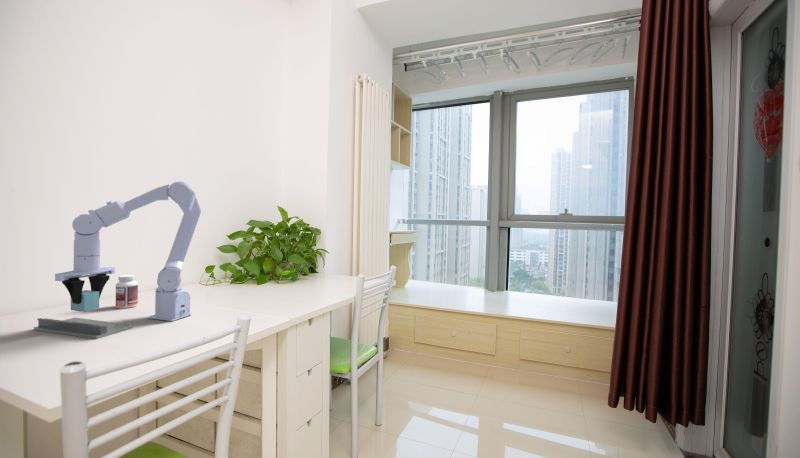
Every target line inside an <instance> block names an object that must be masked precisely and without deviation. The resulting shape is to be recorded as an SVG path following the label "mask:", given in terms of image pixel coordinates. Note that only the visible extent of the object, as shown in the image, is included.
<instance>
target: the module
mask: <svg viewBox="0 0 800 458" xmlns="http://www.w3.org/2000/svg"><path fill="white" fill-rule="evenodd" d="M99 309H100V299H99V291H91V289H90V290H89V289H88V290H87V289H85V290H82V299H81V304H73V302H72V299H71V298H70V311H75V312H83V313H84V312H89V311H93V310H99Z"/></svg>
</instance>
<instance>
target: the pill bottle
mask: <svg viewBox="0 0 800 458" xmlns="http://www.w3.org/2000/svg"><path fill="white" fill-rule="evenodd" d="M117 278H118V282H117V283H116V284H115V307H116V308H117V309H129V308H135V307H137V306H138V305H139V304H138V302H139V301H138V300H139V299H138V297H139V296H138V293H139V290H138V288H139V284H138V281H136V275H135V274H123V275H119V276H118V277H117Z"/></svg>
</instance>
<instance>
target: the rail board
mask: <svg viewBox="0 0 800 458" xmlns="http://www.w3.org/2000/svg"><path fill="white" fill-rule="evenodd" d="M36 319H37V321H38V323H37V324H38V326H34V327H33V331H37V332H45V333H50V334H60V335H66V336H72V337H80V338H85V339H87V338H88V339H94V340H98V339H101V338H103V337H107V336H111V335H114V334H117V333H120V332H123V331H127V330H130V329H133V328H134V325H133V324H128V323H123V322H122V323H120V322H112V321H104V320H98V319H97V320H96V319H91V318H90V319H88V318H80V317H72V318H68V319H63V320H62V319H53V318H41V317H40V318H36Z"/></svg>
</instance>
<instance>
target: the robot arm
mask: <svg viewBox="0 0 800 458" xmlns="http://www.w3.org/2000/svg"><path fill="white" fill-rule="evenodd" d="M169 198H170V199H171V200H172V201H173V202H175V204H177V205H178V207H179V208H180V209H181V211H182V212H183V215H182V218H181V220H180V223H179V226H178V229H177V232H176V235H175V237H174V241H173V243H172V246H171V249H170V252H169V254H168V258H167V259H166V262H165V265H164V267H163V268H162V269H161V270H160V271H159V272H158V275H157V280H156V284H157V287H156V288H155V300H154V301H155V302H154V303H155V305H154V306H155V307H154V315H153V314H152V315H149V316H147V318H148V319H152V320H159V321H160V320H161V321H169V322H174V321H178V320H179V319H180V320H181V319H183V318H186V317H189V316H192V315H193V314H192V313H191V295H190V293H189V292H187V291H186V290H184V289H183V286H182V285H181V283H182V277H181V272H182V268H183V265H184V262H185V258H186V256H187V253H188V249H189V247H190V244H191V242H192V238H193V236H194V233H195V231H196V228H197V224H198V221H199V218H200V215H201V213H202V210H201V208H200V204H199V202H198V198H197V196H196V192H195V191H194V190H193V189H192V187H191V186H190V185H189V184H188V183H186V182H184V181H175V182H172V183H171V184H165V185H162V186H158V187H156V188H152V189H151V190H149V191H147V192H145V193H142V194H140V195H137V196H136V197H134V198H132V199H130V200H127V201H126V202H123V201H117V200H114V201H112V200H110V201H107V202H105V203H106V205H103V206H101V207H98V208H96V209H90V210H88V211H87V212H88V213H83V214H82V213H81V214H79V216H77V217H75V218H74V219H73V221H72V223H71V226H72V228H73V229H72V230H74V240H73V267H72V268H73V270H69V271H63V272H59V273H58V272H57V273H54V281H55V282H62V285H64V287H65V288H66V289H67V291H68V295H69V296H70V300H71V299H72V302H73V304H81V299H82V291H83V288H84V285H85V282H86V281H85V280H83V278H88V280H89V281H88V282H89V284H90V291H99V300H100V299H101V295H102V292H103V290H104V288H105V286H106V284H107V282H108V281H109V280H110V275H112V274H113V275H114V274H115V270H116V269H115V268H116V267H112V266H109V267H101V240H100V231H101V230H102V228H108V227H110V226H112V225H114V224H117V223H119V222H122V221H123V220H126V219H128V218H129V217H130V215H131V212H133V211H135V210H139V208H143V207H145V206H148V205H150V204H152V203H154V202H157V201H169Z"/></svg>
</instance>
